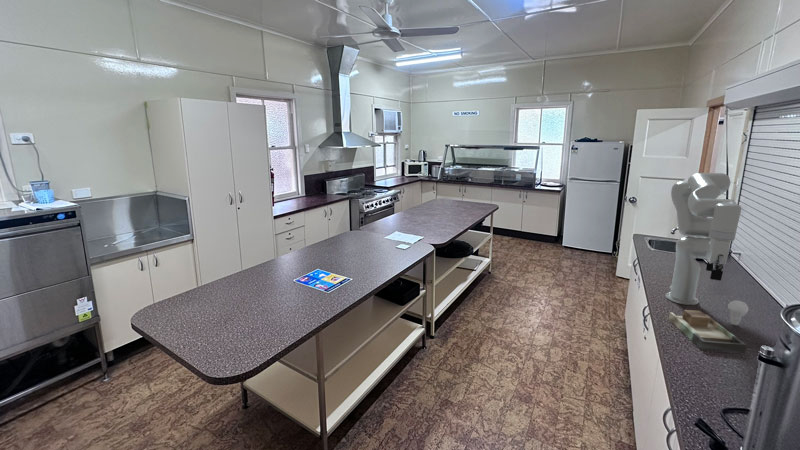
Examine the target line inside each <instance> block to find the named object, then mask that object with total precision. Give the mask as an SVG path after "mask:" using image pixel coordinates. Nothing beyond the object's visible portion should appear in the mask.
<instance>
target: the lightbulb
mask: <svg viewBox="0 0 800 450" xmlns="http://www.w3.org/2000/svg"><path fill="white" fill-rule="evenodd" d="M727 309H728V311H729V314H730V324H731V325H732V326H738V325H740V323H741V320H742V318H743V317H744V316H745V315H747V314H748V311H749V307H748V305H747V304H746V303H745V302H744V301H741V300H731V301H730V302H729V303H728V305H727Z"/></svg>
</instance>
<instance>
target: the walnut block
mask: <svg viewBox="0 0 800 450" xmlns="http://www.w3.org/2000/svg"><path fill="white" fill-rule="evenodd" d="M706 315H707V314H705V313H703V312H702V311H701V310H694V309H693V310H692V309H683V313H682V316H683V317H682V318H683V319H684V320H685V321H686V322H687V323H688V324H689V325H691V326H705V327H707V326H708V321H709V317H710V316H709V317H707V316H706Z"/></svg>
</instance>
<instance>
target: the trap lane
mask: <svg viewBox="0 0 800 450" xmlns="http://www.w3.org/2000/svg"><path fill="white" fill-rule="evenodd" d="M705 315H706V316H707V317H709V321H708V326H707V327H705V326H691V325H689V324H688V323H687V322H686V321H685V320H684V319H683V318H682V317H683V315H676V313H674V312H669V315H668V320H669V321H670V322H671V323H672V324H673V325H674V326H675V327H676V328H677V329H678V330H679V331H680V332H681V333H683V334H684V335H685V336H686V337H687V338H688V339H689V341H691V342H692V343H693V344H694V346H696V347H698V349H700V350H701V351H708V352H709V351H710V352H723V353H733V354H746V350H747V347H748V345H747V344H746V343H745V342H744V341H742V340H741V339H740V338H738V337H737V336H735V334H733V333H732V332H730V331H729V330H728V329H726V328H725V327H724V326H722V325H721V324H720V323H718V322H717V321H716V320H715V319H713V318H712V317H711V316H709V315H708V314H705Z"/></svg>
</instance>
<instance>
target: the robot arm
mask: <svg viewBox="0 0 800 450" xmlns="http://www.w3.org/2000/svg"><path fill="white" fill-rule="evenodd" d="M730 186H731V179H730V176H729V175H727V173H723V172H714V173H713V172H698V173H694V174H692V175H690V177H688V179H687V180H685V181H678V182H676V183H674V184H673V185H672V187H671V189H670V190H671V191H670V192H671V193H670V194H671V195H670V196H671V197H670V198H671V201H672V203H673V205H674V208H675V210H676V216H677V218H676V219H677V229H678V232H679V234H680V235H681V236H683V237H679V239H677V240H676V242H675V262H674V269H673V274H672V280H671V285H669V289H670V291H668V292H666V293H665V298H666V299H667V300H669V301H671V302H673V303H677V304H680V305H686V306H696V305H698V304H699V299H698V298H697V297H696V294H697V289H698V284H699V279H700V273H701V265H700V264H699V262H698V261H697V260H696V259H705V260H707V263H706V268H705V271H707V272H710V277H709V278H710V280H712V281H713V280H715V281H722V279H723V274H724V266H725V265H726V264H727V262H728V255H729V251H730V247H731V242H734V241H735V240H736V239H735V238H736V234H737V229H738V225H739V221H740V217H741V213H742V206H741V205H740V204H738V203H737V202H736V201H734V200H733V199H725V198H724V199H723V198H722V199H721V198H720V199H719V198H718V197H719V196H721V195H722V194H725V193H726V192H727V191H728V190H729V189H730Z"/></svg>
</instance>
